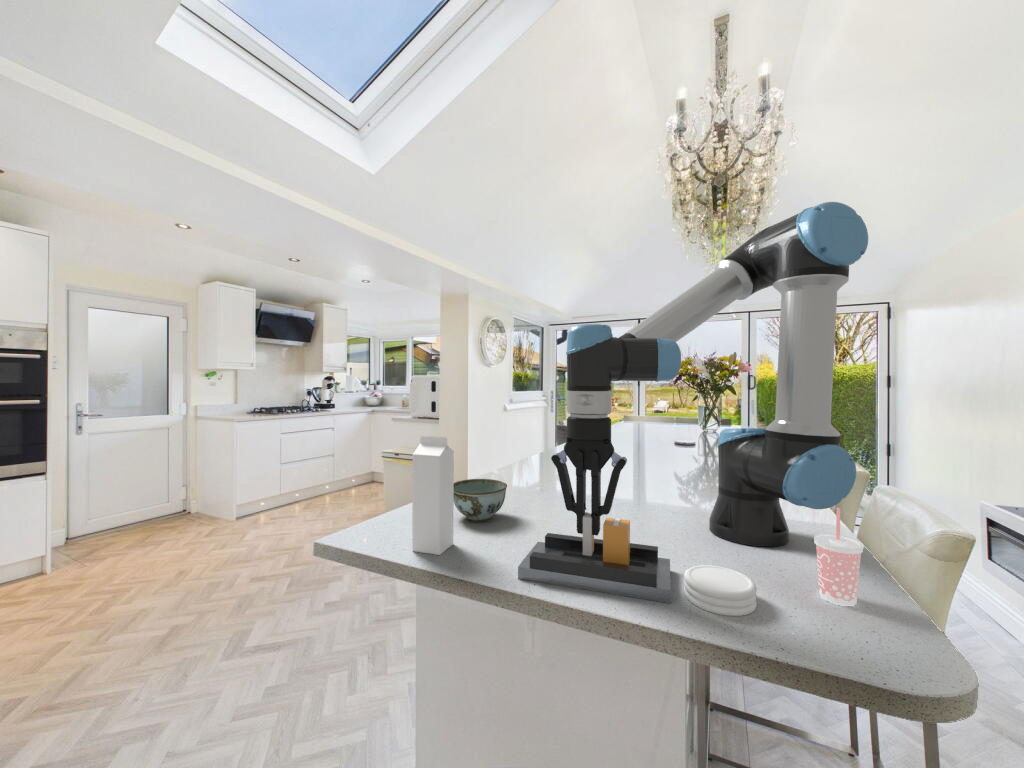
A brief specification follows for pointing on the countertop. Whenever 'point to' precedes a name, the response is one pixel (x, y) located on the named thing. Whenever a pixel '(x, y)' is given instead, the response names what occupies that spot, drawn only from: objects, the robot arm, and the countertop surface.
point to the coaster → (720, 590)
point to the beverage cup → (838, 566)
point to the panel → (600, 583)
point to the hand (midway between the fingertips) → (588, 552)
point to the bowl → (479, 498)
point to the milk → (432, 496)
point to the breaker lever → (616, 541)
